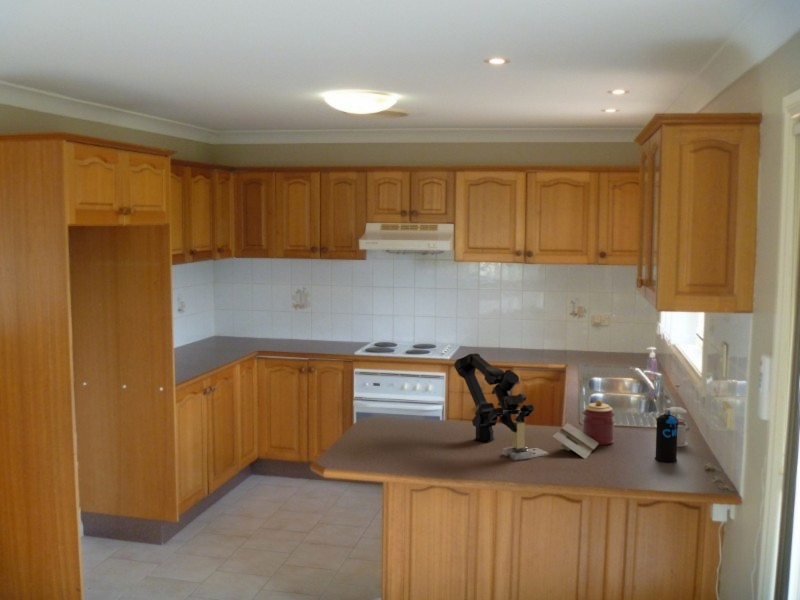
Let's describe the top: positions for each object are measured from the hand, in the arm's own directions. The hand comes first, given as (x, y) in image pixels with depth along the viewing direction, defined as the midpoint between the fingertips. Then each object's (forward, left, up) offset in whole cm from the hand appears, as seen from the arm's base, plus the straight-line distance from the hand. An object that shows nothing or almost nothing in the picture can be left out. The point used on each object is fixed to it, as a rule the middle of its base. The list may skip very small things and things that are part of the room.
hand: (519, 431), depth 307 cm
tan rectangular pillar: (-1, +1, -7) cm, 7 cm away
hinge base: (+1, +4, -10) cm, 11 cm away
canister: (+17, +39, -11) cm, 44 cm away
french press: (+44, +55, -11) cm, 71 cm away
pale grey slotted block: (+15, +20, -11) cm, 28 cm away
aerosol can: (+48, +29, -11) cm, 57 cm away
